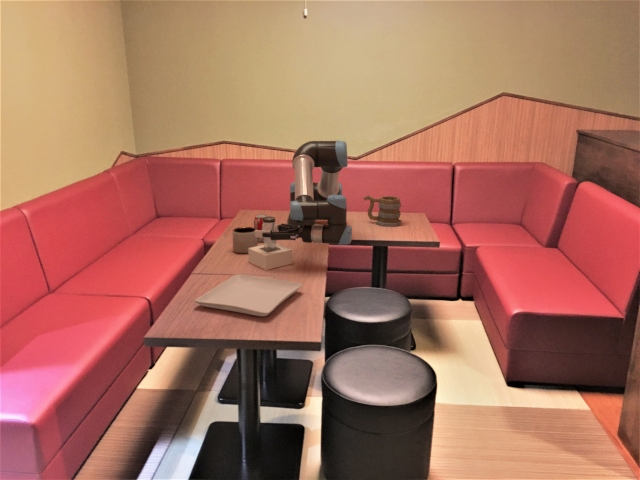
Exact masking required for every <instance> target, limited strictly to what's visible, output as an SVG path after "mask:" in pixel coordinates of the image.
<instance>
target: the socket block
mask: <svg viewBox="0 0 640 480" xmlns="http://www.w3.org/2000/svg"><path fill="white" fill-rule="evenodd" d="M247 258H248V263H250V264H252V265H253V266H256V267H257V268H261V269H262V270H265V271H269V270H273V269H276V268H280V267H284V266H285V267H286V266H288V265H293V264H294V263H293V248H289V247H286V246H284V245H281V244H279V243H277V242H276V251H272V252H265V251H264V244H261V245H258V246H256V247H251V248H248V257H247Z"/></svg>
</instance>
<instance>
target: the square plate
mask: <svg viewBox="0 0 640 480" xmlns="http://www.w3.org/2000/svg"><path fill="white" fill-rule="evenodd" d="M302 286H303V283H301V282H296V281H290V280H285V279H284V280H283V279H279V278H272V277H265V276H256V275H249V274H241V273H238V274H235V275H233V276H231V277H230V278H228V279H226V280H224V281H222V282H221V283H220V284H217V285H216V286H215V287H213V288H211V289H210V290H208V291H207V292H205V293H204V294H202V295H200V296H198V297H197V298H196V299H195V300H194V303H197V304H198V305H199V306H202V307H205V308H212V309H218V310H224V311H230V312H234V313H235V312H236V313H241V314H246V315H250V316H251V315H252V316H256V317H266V316H268V315H270V314H271V313H272V312H273V311H275V309H276V308H277V307H278V306H279V305H281V304H282V303H283V302H284V301H285V300H287V299H288V298H290V297H291V296H293V294H295V293H296V292H297V291H298V290H299V289H300V288H301V287H302Z"/></svg>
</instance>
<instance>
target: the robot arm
mask: <svg viewBox="0 0 640 480" xmlns="http://www.w3.org/2000/svg"><path fill="white" fill-rule="evenodd" d="M291 163H292V168H293V170H294V181H293V182H291V183H290V185H289V193H290V194H289V199H290V200H289V203H290V204H289V208H290V209H289V213H288V217H287V219H286V223H281V224H275V228H276V232H272V230H270V231H263V225H262V231H260V230H255V237H259V238H271V240H276V241H297V239H300V238H301V240H302V242H303V243H304V244H305V243H307V244H309V243H310V244H312V243H313V244H319V245H321V244H326V245H327V244H328V245H338V246H340V245H350V244H351V242H352V240H353V238H352V237H353V231H352V230H353V228H352V226H351V225H347V224H348V223H347V215H348V214H347V213H348V212H347V211H348V210H347V209H348V207H347V206H348V204H347V198H346V196H345V195H343V185H342V184H341V182H339V175H340V171H341V170H343V169H344V168H347V167H348V166H349V164H348V163H349V162H348V146H347V142H346V141H344V140H310V141H307V142H305V143H303V144H301V145H300V146H299V147H298V148H297V149H296V150H295V152H294V154H293V156H292V162H291ZM314 168H320V169H321V171H320V180H319V181H318V182H314V181H313V180H314V179H313V170H314ZM317 221H327V224H323V223H322V224H320V223H319V224H317Z"/></svg>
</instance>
